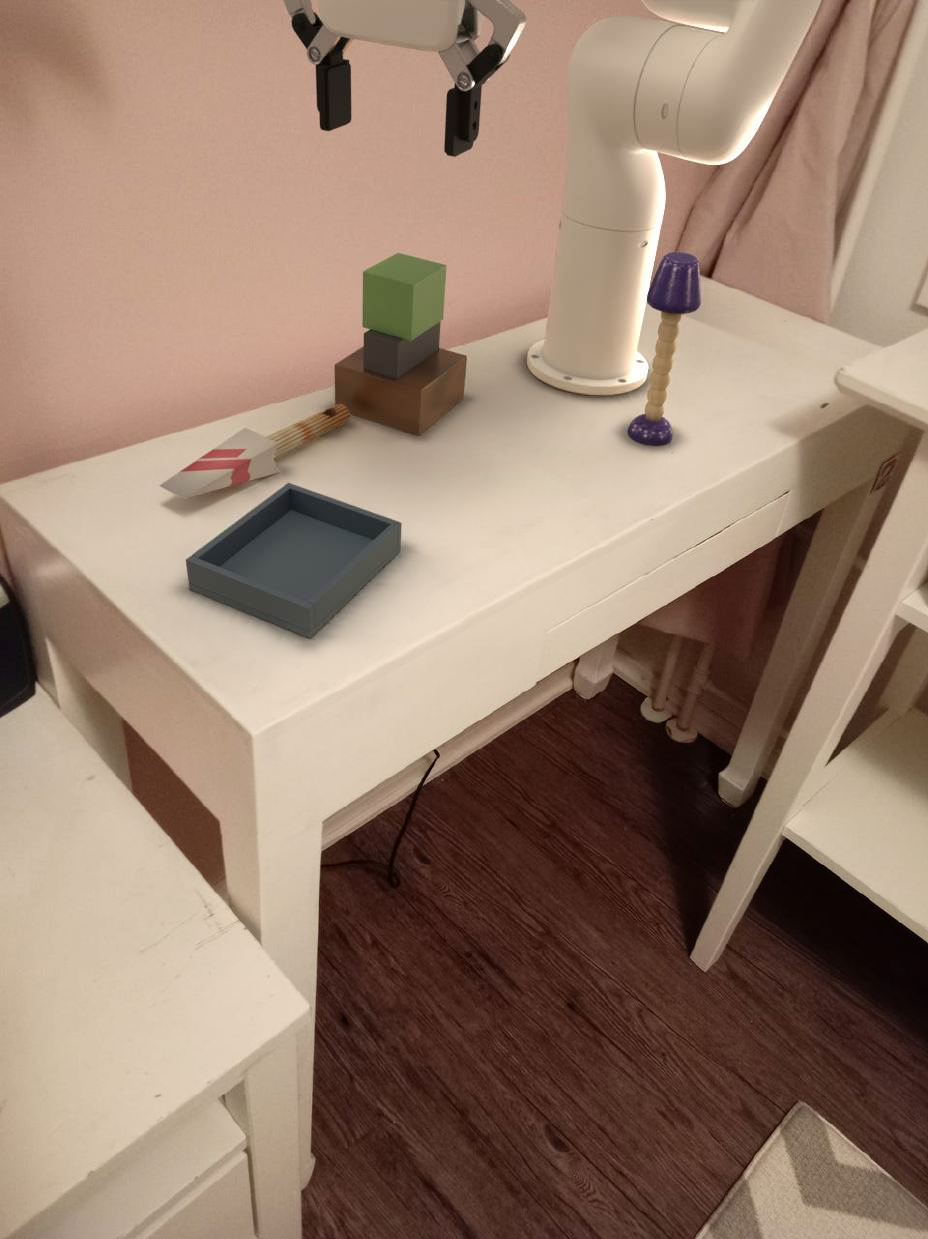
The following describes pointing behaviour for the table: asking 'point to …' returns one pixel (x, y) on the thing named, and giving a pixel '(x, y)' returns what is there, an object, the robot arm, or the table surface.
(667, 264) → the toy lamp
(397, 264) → the green block
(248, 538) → the tray
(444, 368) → the walnut block
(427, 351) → the charcoal block
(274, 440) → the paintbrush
